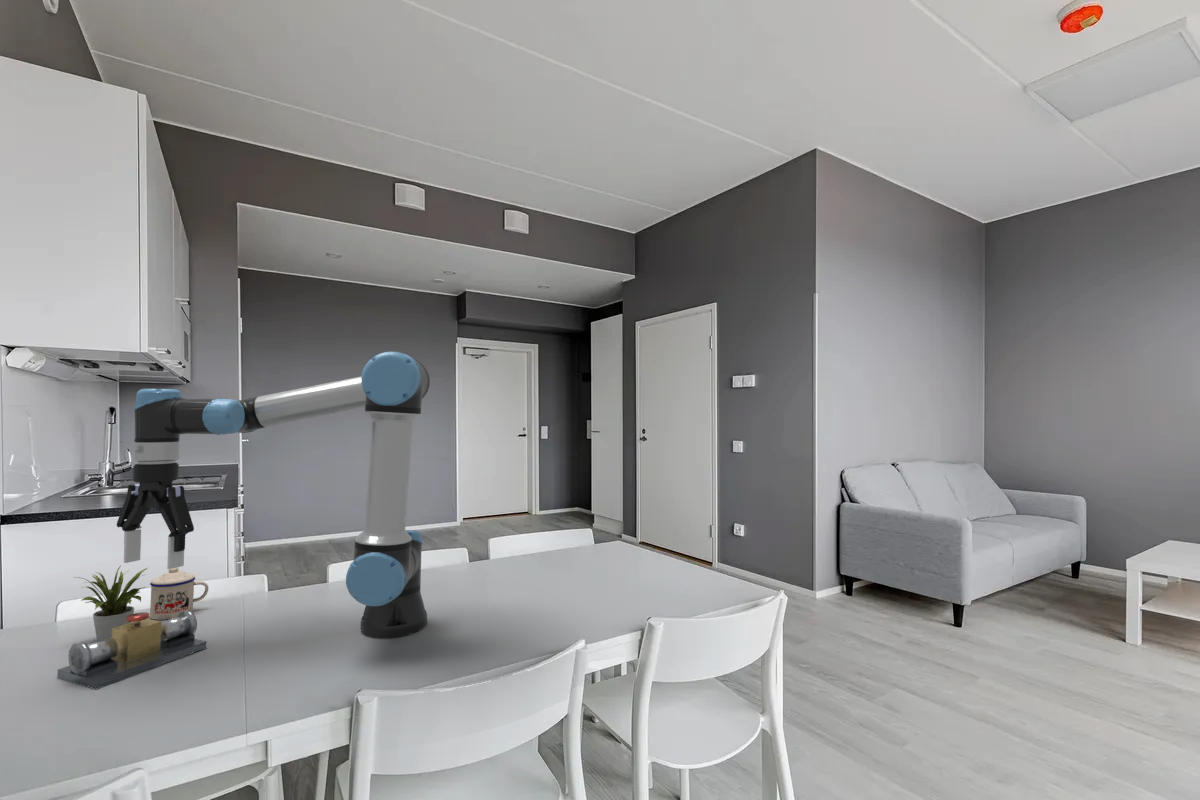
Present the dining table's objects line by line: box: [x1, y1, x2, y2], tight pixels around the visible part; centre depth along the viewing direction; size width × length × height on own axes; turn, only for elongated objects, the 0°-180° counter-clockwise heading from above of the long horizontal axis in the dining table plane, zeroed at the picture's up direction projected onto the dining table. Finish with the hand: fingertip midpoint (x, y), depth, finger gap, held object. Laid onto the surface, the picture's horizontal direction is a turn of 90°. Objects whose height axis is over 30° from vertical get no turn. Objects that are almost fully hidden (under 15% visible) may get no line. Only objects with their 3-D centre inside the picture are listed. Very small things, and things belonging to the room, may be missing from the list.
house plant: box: [74, 566, 148, 642], centre depth 125 cm, size 14×14×16 cm
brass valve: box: [112, 611, 162, 662], centre depth 115 cm, size 6×5×8 cm
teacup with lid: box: [149, 567, 209, 621], centre depth 143 cm, size 12×9×12 cm
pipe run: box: [57, 610, 207, 690], centre depth 115 cm, size 20×12×7 cm, turn 159°
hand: (153, 564), depth 118 cm, fingers open, 13 cm apart
